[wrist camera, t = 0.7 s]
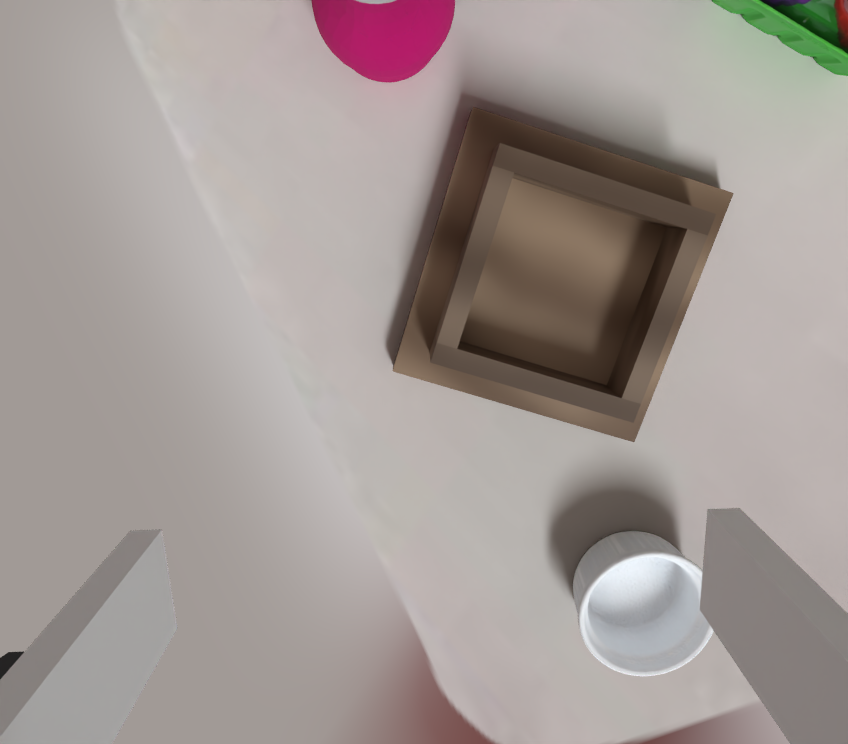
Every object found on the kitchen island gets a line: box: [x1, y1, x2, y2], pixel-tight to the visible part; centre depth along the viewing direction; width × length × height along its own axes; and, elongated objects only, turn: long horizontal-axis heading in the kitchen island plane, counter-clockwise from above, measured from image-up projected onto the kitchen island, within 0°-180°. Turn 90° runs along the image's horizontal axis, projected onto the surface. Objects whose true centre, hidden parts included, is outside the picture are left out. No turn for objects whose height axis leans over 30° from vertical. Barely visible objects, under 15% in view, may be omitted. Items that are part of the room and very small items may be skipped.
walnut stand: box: [393, 107, 733, 442], centre depth 39 cm, size 16×16×4 cm
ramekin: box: [573, 531, 714, 676], centre depth 44 cm, size 9×9×4 cm
